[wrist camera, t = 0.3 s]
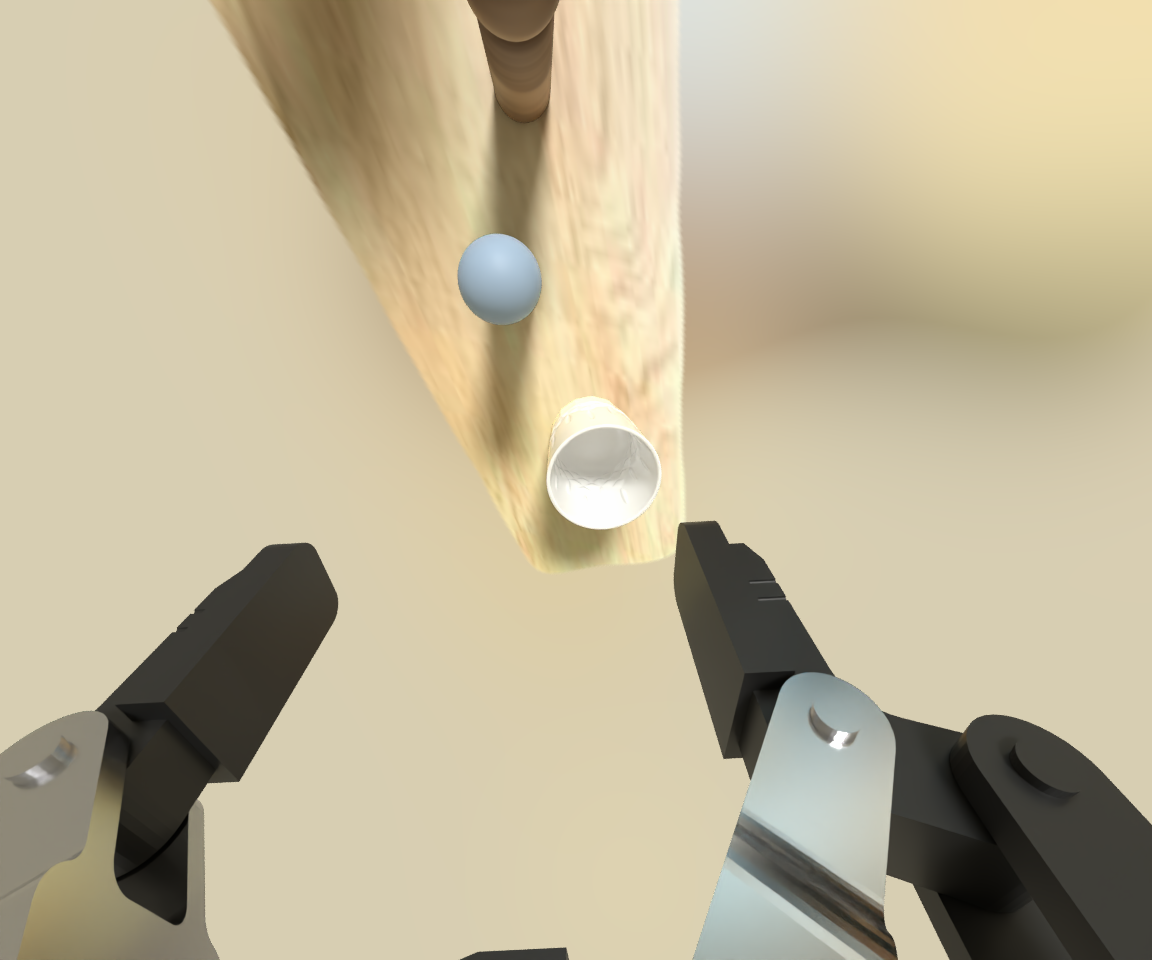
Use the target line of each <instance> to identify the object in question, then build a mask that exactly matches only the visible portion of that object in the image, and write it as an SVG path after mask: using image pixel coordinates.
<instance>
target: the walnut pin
mask: <svg viewBox="0 0 1152 960" xmlns="http://www.w3.org/2000/svg"><path fill="white" fill-rule="evenodd" d="M467 1H468V3H469V5H470V7H471V9H472V11H473V12H474V14H475V15H476V17H477V20H478V24H479V28H480V32H481V36H482V40H483V44H484V49H485V53H486V57H487V61H488V65H489V69H490V73H491V77H492V82H493V86H494V90H495V94H496V98H497V101H498V103H499V105H500V107H501V108H502V110H503V111H504V113H505V114H506V115H507V116H509V117H510V118H511V119H513V120H515V121H517V122H522V123H527V122H532V121H534V120H536V119H537V118H539V117H540V116H541V115H542V114H543V112H544V111H545V109H546V107H547V105H548V102H549V98H550V89H551V69H552V49H553V29H554V13H555V11H556V8H557V6H558V3H559V0H467Z"/></svg>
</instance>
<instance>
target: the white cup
mask: <svg viewBox="0 0 1152 960" xmlns="http://www.w3.org/2000/svg"><path fill="white" fill-rule="evenodd" d="M546 483H547V490H548V494H549V497H550V499H551V502H552V503H553V505H554V507H555V508H556V509H557V511H558V512H559V513H560V514H561V515H562V516H563V517H565V518H566V519H567V520H569V521H570V522H572V523H574V524H576V525H579V526H581V527H585V528H589V529H599V530H602V529H612V528H616V527H620V526H623V525H625V524H627V523H629V522H631V521H633V520H635V519H636V518H638V517H639V516H640V515H642V514H643V513H644V512H645V511H646V510H647V509H648V508H649V506H650V505H651V504H652V502H653V501H654V499H655V497H656V495H657V493H658V490H659V487H660V483H661V464H660V460H659V457H658V455H657V453H656V451H655V449H654V447H653V446H652V445H651V443H650V442H649V441H648V440H647V439H646V438H645V436H644V435H643V434H642V433H641V432H640V430H639V429H638V428H637V427H636V426H635V424H634V423H633V422H632V421H631V420H630V419H629V418H628V417H627V416H626V415H625V414H624V413H623V412H622V411H621V410H619V409H618V408H617V407H616V406H615V405H614V404H612V403H611V402H610V401H609V400H606V399H602V398H598V397H595V396H589V397H584V398H578V399H574V400H573V401H572V402H570V403H569V404H568V405H566V406H565V407H563V408H562V409H561V410H560V412H559V414H558V415H557V417H556V419H555V421H554V423H553V425H552V434H551V437H550V444H549V452H548V465H547V477H546Z"/></svg>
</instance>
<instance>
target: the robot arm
mask: <svg viewBox="0 0 1152 960" xmlns="http://www.w3.org/2000/svg"><path fill="white" fill-rule="evenodd" d="M674 589H675V597H676V602H677V606H678V609H679V612H680V615H681V619H682V622H683V625H684V629H685V632H686V635H687V639H688V642H689V645H690V648H691V652H692V655H693V659H694V662H695V665H696V669H697V672H698V675H699V679H700V682H701V685H702V689H703V692H704V695H705V698H706V702H707V705H708V709H709V712H710V715H711V718H712V722H713V725H714V728H715V732H716V735H717V738H718V742H719V745H720V748H721V752H722V755H723V758H724V759H729V758H743V760H744V762H745V766H746V769H747V771H748V774H749V777H750V780H751V782H750V785H749V788H748V791H747V794H746V797H745V800H744V803H743V806H742V809H741V812H740V815H739V819H738V822H737V825H736V828H735V831H734V834H733V837H732V840H731V843H730V846H729V849H728V852H727V855H726V859H725V861H724V865H723V868H722V871H721V874H720V877H719V880H718V883H717V886H716V889H715V892H714V895H713V898H712V901H711V904H710V908H709V911H708V914H707V917H706V920H705V923H704V926H703V929H702V932H701V935H700V938H699V941H698V944H697V948H696V950H695V954H694V957H693V960H898V957H897V951H896V946H895V942H894V940H893V938H892V936H891V935H890V933H889V932H888V931H887V929H886V926H885V921H884V896H885V883H886V875H889V876H892V877H895V878H898V879H901V880H903V881H906V882H909V883H912V884H913V885H914V888H915V890H916V892H917V894H918V896H919V898H920V900H921V901H922V904H923V906H924V908H925V910H926V912H927V914H928V916H929V918H930V920H931V922H932V924H933V927H934V929H935V931H936V933H937V935H938V937H939V939H940V941H941V943H942V945H943V947H944V949H945V951H946V953H947V955H948V957H949V959H950V960H1152V825H1151V824H1150V823H1149V821H1148V820H1147V819H1146V818H1145V817H1144V816H1143V815H1142V814H1141V813H1140V812H1139V811H1138V810H1137V809H1136V808H1135V806H1134V805H1133V804H1132V803H1131V802H1130V801H1129V800H1128V799H1127V798H1126V797H1125V796H1124V795H1123V794H1122V793H1121V792H1120V790H1119V789H1117V787H1116V786H1115V785H1114V784H1113V783H1112V782H1111V781H1110V780H1109V779H1108V778H1107V777H1106V776H1105V775H1104V773H1103V772H1102V771H1101V770H1100V769H1099V768H1098V767H1097V766H1095V764H1093V763H1092V762H1091V761H1090V760H1089V759H1088V758H1086V757H1085V756H1084V755H1083V754H1082V753H1080V752H1079V751H1078V750H1077V749H1075V748H1074V747H1073V746H1071V745H1070V744H1068V743H1067V742H1065V741H1064V740H1062V739H1061V738H1059V737H1057V736H1056V735H1054V734H1052V733H1050V732H1049V731H1047V730H1044V729H1043V728H1041V727H1039V726H1036V725H1034V724H1032V723H1029V722H1027V721H1023V720H1020V719H1017V718H1014V717H1009V716H1004V715H985V716H981V717H979V718H976V719H975V720H973V721H972V722H971V723H970V725H969V726H968V727H967V729H966V730H965V731H964V733H960V732H956V731H952V730H948V729H944V728H940V727H936V726H932V725H928V724H924V723H920V722H916V721H912V720H908V719H904V718H900V717H897V716H894V715H890V714H888V713H885V712H883V711H881V710H880V708H879V707H878V706H877V705H876V704H875V703H874V702H873V701H872V700H871V699H870V698H869V697H868V696H867V695H866V694H864V693H863V692H862V691H861V690H859V689H858V688H856V687H855V686H853V685H852V684H850V683H848V682H846V681H844V680H842V679H839V678H837V677H835V676H834V674H833V673H832V671H831V670H830V668H829V667H828V665H827V663H826V662H825V661H824V659H823V657H822V655H821V654H820V652H819V650H818V649H817V647H816V645H815V644H814V642H813V640H812V639H811V637H810V635H809V634H808V632H807V630H806V629H805V627H804V626H803V624H802V622H801V621H800V619H799V617H798V616H797V614H796V612H795V611H794V609H793V607H792V606H791V604H790V603H789V601H788V600H786V598H785V597H786V596H785V594H784V592H783V591H782V589H781V587H780V586H779V584H778V583H776V581H775V578H774V576H773V574H772V573H771V571H770V569H769V568H768V566H767V564H766V563H765V561H764V559H762V558H761V557H760V556H759V555H757V554H756V553H755V552H753V551H752V550H751V549H750V548H749V547H747V546H746V545H745V544H744V543H738V544H729V543H728V541H727V539H726V537H725V535H724V534H723V531H722V530H721V528H720V526H719V524H718V523H717V522H716V521H704V522H685V523H680V524H679V527H678V534H677V546H676V557H675V568H674ZM337 610H338V597H337V593H336V591H335V589H334V587H333V585H332V583H331V580H330V578H329V576H328V574H327V572H326V570H325V568H324V566H323V564H322V561H321V559H320V557H319V555H318V553H317V551H316V549H315V548H314V547H313V546H312V545H311V544H309V543H294V544H277V545H276V544H275V545H269V546H266V547H265V548H263V549H262V550H261V551H260V552H259V553H258V554H257V555H256V557H255V558H254V559H253V560H252V561H251V562H250V563H249V564H248V565H247V566H246V567H245V568H244V569H243V570H242V571H240V572H239V573H237V574H236V575H234V576H233V577H231V578H230V579H229V580H227V581H226V582H224V583H223V584H221V585H220V586H218V587H217V588H215V589H214V590H213V591H212V592H211V593H210V595H208V596H207V597H206V599H204V601H202V603H201V604H200V605H199V606H198V607H197V608H196V609H195V613H194V614H190V615H189V616H188V617H187V618H186V619H185V620H184V621H183V622H182V623H181V624H180V625H179V626H178V627H177V631H176V632H173V633H171V634H170V635H169V636H168V637H167V638H166V639H165V640H164V641H163V642H162V644H160V646H158V648H157V649H155V651H154V652H153V653H152V654H151V655H150V656H149V657H148V658H147V659H146V660H145V661H144V662H143V663H142V664H141V665H140V666H139V667H138V668H137V669H136V670H135V671H134V672H133V673H132V674H131V675H130V676H129V677H128V678H127V679H126V680H125V681H124V682H123V683H122V684H121V685H120V686H119V687H118V689H116V690H115V691H114V692H113V693H112V695H111V696H109V697H108V699H107V700H106V701H105V702H104V703H103V704H102V705H101V706H100V707H99V708H97V710H95V711H83V712H79V713H75V714H71V715H68V716H65V717H62V718H60V719H57V720H55V721H53V722H50V723H48V724H46V725H44V726H42V727H40V728H39V729H37V730H35V731H33V732H32V733H30V734H28V735H27V736H25V737H24V738H22V739H20V740H19V741H17V742H16V743H15V744H13V745H12V746H11V747H9V748H8V749H7V750H5V751H4V752H3V753H1V754H0V960H219V957H218V955H217V952H216V950H215V948H214V947H213V945H212V943H211V941H210V939H209V936H208V933H207V928H206V923H205V865H204V864H205V862H204V810H203V806H202V804H201V802H200V801H198V800H197V798H198V797H199V795H200V794H201V792H202V791H203V789H204V788H205V786H206V785H207V783H222V782H239V781H240V779H241V777H242V776H243V774H244V773H245V771H246V769H247V767H248V765H249V764H250V762H251V761H252V759H253V757H254V756H255V754H256V752H257V751H258V749H259V747H260V745H261V744H262V742H263V741H264V739H265V737H266V735H267V734H268V732H269V730H270V729H271V727H272V725H273V724H274V722H275V720H276V719H277V717H278V715H279V713H280V712H281V710H282V708H283V707H284V705H285V703H286V702H287V700H288V698H289V696H290V695H291V693H292V692H293V690H294V688H295V686H296V685H297V683H298V681H299V680H300V678H301V676H302V675H303V673H304V671H305V670H306V668H307V666H308V665H309V663H310V661H311V659H312V658H313V656H314V654H315V653H316V651H317V649H318V648H319V646H320V644H321V642H322V641H323V639H324V637H325V636H326V634H327V632H328V631H329V629H330V627H331V626H332V624H333V622H334V620H335V618H336V615H337ZM460 960H569V958H568V953H567V949H566V948H547V949H527V950H507V951H487V952H477V953H475V954H472V955H470V956H467V957H465V958H463V959H460Z"/></svg>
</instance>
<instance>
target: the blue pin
mask: <svg viewBox="0 0 1152 960" xmlns="http://www.w3.org/2000/svg"><path fill="white" fill-rule="evenodd" d="M458 285H459V289H460V292H461V295H462V297H463V300H464V301H465V303H466V305H467V306H468V307H469V309H470V310H471V311H472V312H473V313H474V314H475V315H477V316H478V317H479V318H481V319H482V320H484V321H486V322H489V323H492V324H496V325H509V324H513V323H516V322H519V321H521V320H522V319H524V318H525V317H527V316H528V315H529V314H530V313H531V312H532V310H533V309H534V308H535V306H536V304H537V302H538V300H539V297H540V293H541V286H542V280H541V273H540V268H539V266H538V263H537V261H536V259H535V257H534V255H533V254H532V252H531V251H530V250H529V249H528V248H527V247H526V246H525V245H524V244H523V243H522V242H520V241H519V240H517V239H515V238H513V237H511V236H508V235H504V234H488V235H484V236H482V237H480V238H478V239H476V240H475V241H473V242H472V243H471V244H470V245H469V246H468V247H467V248H466V250H465V252H464V253H463V255H462V257H461V260H460V263H459V267H458Z"/></svg>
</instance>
